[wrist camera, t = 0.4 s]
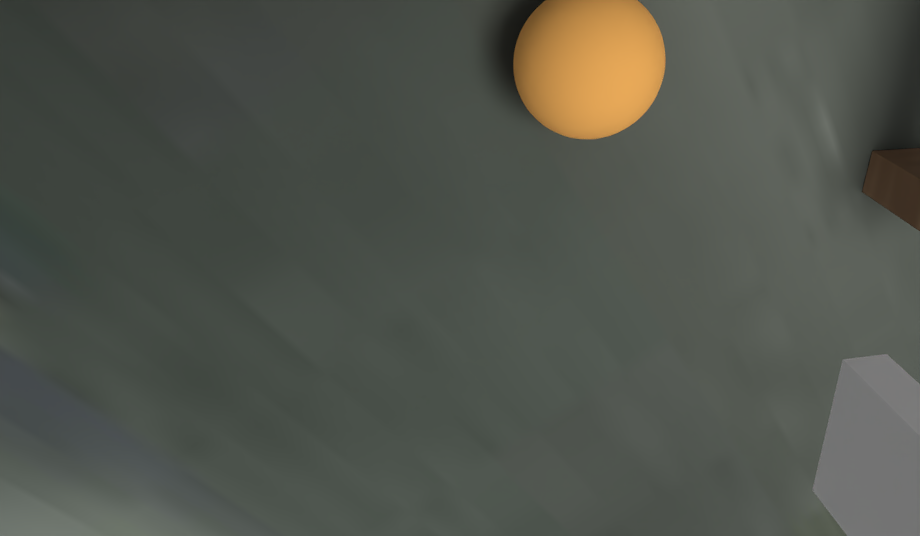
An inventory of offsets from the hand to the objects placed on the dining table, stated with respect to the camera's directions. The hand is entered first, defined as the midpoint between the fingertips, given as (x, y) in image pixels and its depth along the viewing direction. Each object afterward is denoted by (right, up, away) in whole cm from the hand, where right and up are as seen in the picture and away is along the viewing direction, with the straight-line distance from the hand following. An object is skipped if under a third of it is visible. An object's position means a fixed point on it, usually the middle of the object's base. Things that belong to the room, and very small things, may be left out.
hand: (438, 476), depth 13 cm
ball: (+5, +11, +18) cm, 22 cm away
